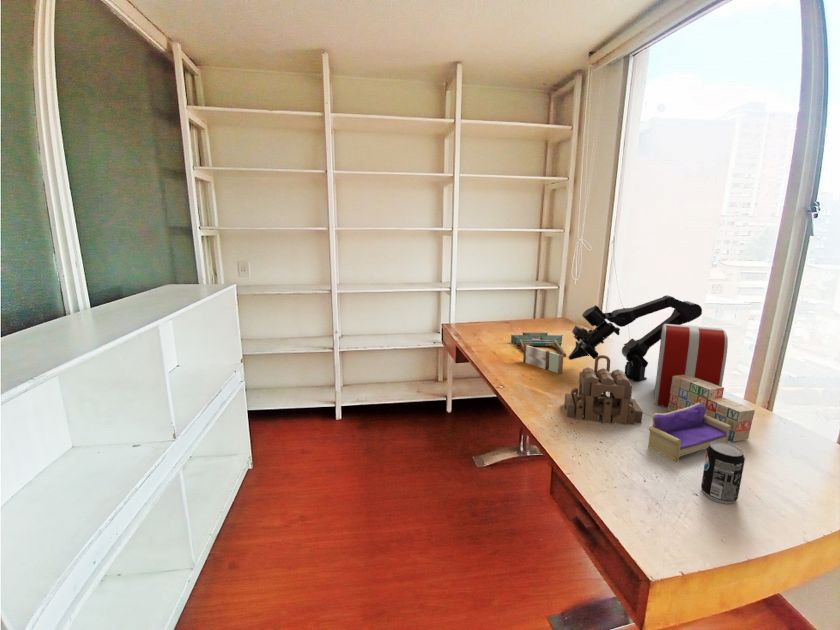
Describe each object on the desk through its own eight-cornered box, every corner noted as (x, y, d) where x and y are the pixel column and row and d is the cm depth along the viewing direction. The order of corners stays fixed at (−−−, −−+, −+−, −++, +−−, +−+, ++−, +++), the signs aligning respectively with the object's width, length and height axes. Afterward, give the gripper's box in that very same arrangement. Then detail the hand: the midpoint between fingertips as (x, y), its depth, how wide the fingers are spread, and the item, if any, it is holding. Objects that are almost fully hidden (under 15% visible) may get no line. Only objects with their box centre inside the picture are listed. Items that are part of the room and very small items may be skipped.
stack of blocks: (749, 440, 110) (757, 399, 108) (732, 442, 109) (741, 401, 106) (681, 408, 131) (687, 373, 128) (666, 409, 129) (672, 374, 126)
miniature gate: (517, 350, 186) (509, 330, 214) (516, 360, 187) (508, 339, 216) (574, 351, 183) (559, 330, 212) (573, 361, 185) (558, 340, 213)
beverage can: (709, 482, 92) (717, 437, 90) (743, 499, 87) (751, 451, 84) (694, 492, 89) (701, 445, 87) (727, 509, 84) (736, 460, 81)
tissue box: (654, 388, 147) (662, 319, 141) (712, 397, 138) (723, 324, 132) (654, 405, 133) (663, 329, 128) (717, 416, 124) (730, 336, 119)
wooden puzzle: (567, 420, 124) (571, 365, 120) (563, 401, 138) (566, 351, 134) (643, 427, 119) (650, 370, 115) (631, 407, 133) (636, 355, 129)
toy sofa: (674, 464, 100) (679, 428, 98) (645, 447, 108) (649, 413, 106) (729, 448, 107) (734, 414, 105) (697, 433, 115) (702, 401, 113)
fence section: (549, 370, 167) (550, 351, 165) (547, 371, 166) (548, 352, 164) (524, 362, 178) (525, 344, 176) (522, 362, 177) (523, 345, 175)
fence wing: (548, 370, 166) (549, 352, 164) (550, 369, 167) (551, 351, 165) (560, 374, 161) (561, 356, 159) (563, 373, 162) (564, 355, 160)
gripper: (580, 315, 165) (552, 339, 169) (591, 325, 147) (559, 352, 151) (598, 333, 165) (569, 356, 169) (612, 346, 147) (579, 372, 151)
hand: (569, 358), depth 160 cm, fingers closed
